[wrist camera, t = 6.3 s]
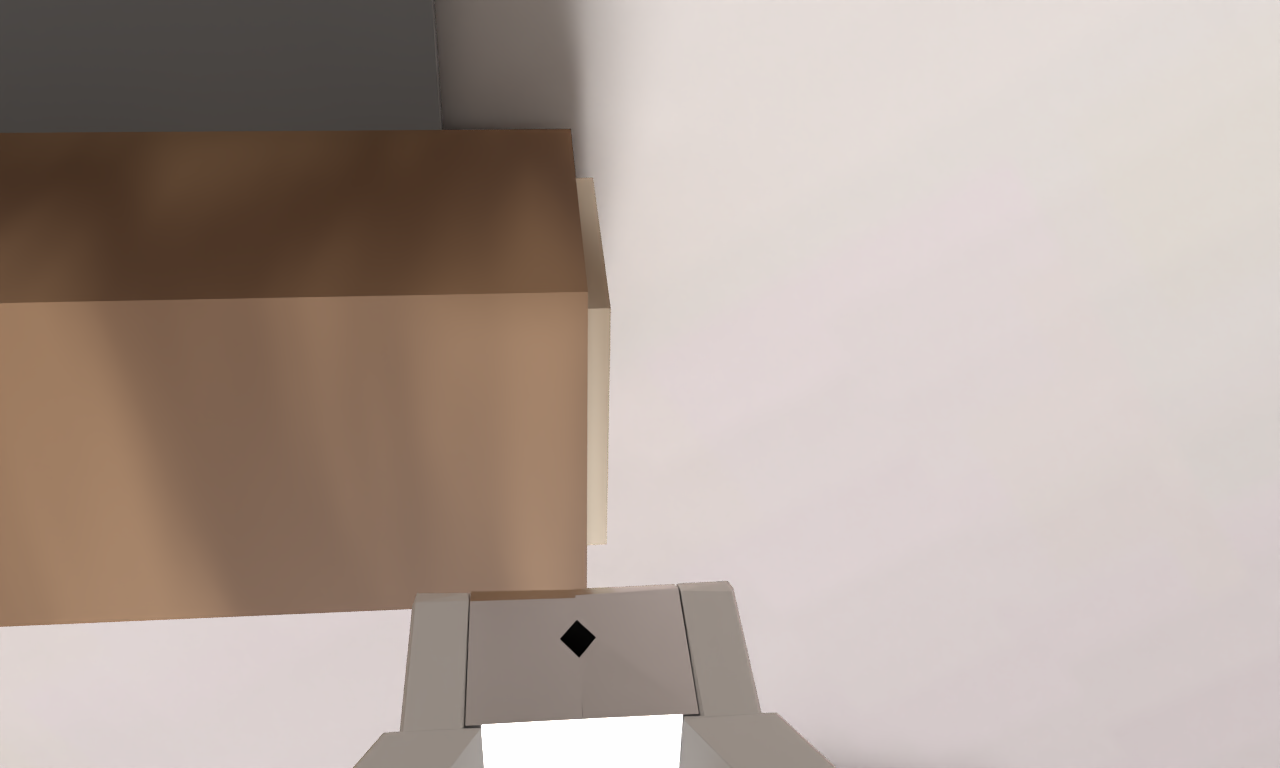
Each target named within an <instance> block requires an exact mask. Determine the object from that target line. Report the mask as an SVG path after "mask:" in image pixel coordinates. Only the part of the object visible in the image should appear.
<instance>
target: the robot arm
mask: <svg viewBox="0 0 1280 768" xmlns="http://www.w3.org/2000/svg"><path fill="white" fill-rule="evenodd" d="M353 768H836V767H835V766H834V765H833V764H832V763H831V762H830V761H829V760H828V759H826V758H825V757H824V756H823V755H822V754H821V753H820V752H819V751H818V750H817V749H816V748H815V747H814V746H812V745H811V744H810V743H809V742H808V741H807V740H806V739H805V738H804V737H803V736H802V735H801V734H800V733H798V732H797V731H796V730H795V729H794V728H793V727H792V726H791V725H790V724H789V723H788V722H787V721H785V720H784V719H783V718H782V717H781V716H780V715H779V714H778V713H761V709H760V704H759V700H758V695H757V691H756V687H755V682H754V678H753V673H752V669H751V664H750V660H749V656H748V651H747V647H746V642H745V638H744V633H743V629H742V625H741V620H740V616H739V611H738V607H737V602H736V598H735V594H734V589H733V587H732V586H731V585H730V583H729V582H728V581H717V582H698V583H680V584H677V586H676V585H675V584H665V585H645V586H626V587H606V588H586V589H574V590H529V591H471V594H470V593H417V594H416V597H415V600H414V603H413V606H412V614H411V624H410V634H409V644H408V654H407V664H406V674H405V685H404V695H403V705H402V715H401V725H400V732H388V733H383V734H382V735H381V736H380V738H379V739H378V740H377V741H376V742H375V743H374V744H373V745H372V747H371V748H370V749H369V750H368V751H367V752H366V753H365V755H364V756H363V757H362V758H361V759H360V760H359V761H358V763H357V764H356V765H355V766H354V767H353Z"/></svg>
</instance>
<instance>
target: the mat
mask: <svg viewBox="0 0 1280 768" xmlns="http://www.w3.org/2000/svg"><path fill="white" fill-rule="evenodd" d="M359 130H443V126H442V111H441V97H440V82H439V67H438V52H437V37H436V22H435V7H434V0H0V133H57V132H208V131H359Z"/></svg>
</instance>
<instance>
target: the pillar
mask: <svg viewBox="0 0 1280 768" xmlns="http://www.w3.org/2000/svg"><path fill="white" fill-rule="evenodd" d="M610 313H611V308H610V300H609V293H608V286H607V278H606V271H605V263H604V256H603V249H602V241H601V234H600V227H599V219H598V212H597V204H596V197H595V190H594V182H593V178H576V175H575V165H574V156H573V147H572V137H571V129H508V130H359V131H208V132H57V133H0V627H4V626H28V625H51V624H74V623H97V622H120V621H144V620H167V619H190V618H213V617H236V616H259V615H283V614H306V613H329V612H352V611H375V610H398V609H412V606H413V603H414V600H415V597H416V594H417V593H470V594H471V591H529V590H574V589H586V588H587V545H603V544H607V488H608V430H609V371H610Z"/></svg>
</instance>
